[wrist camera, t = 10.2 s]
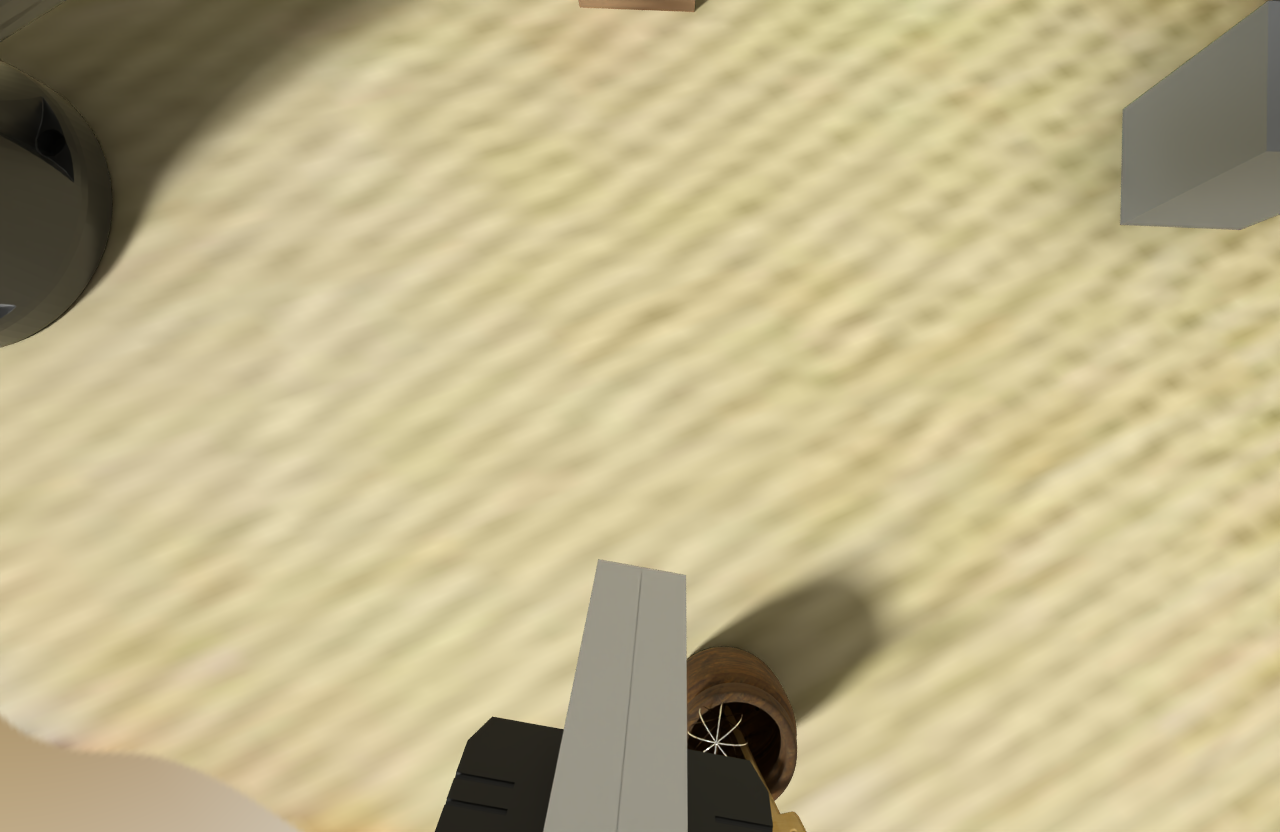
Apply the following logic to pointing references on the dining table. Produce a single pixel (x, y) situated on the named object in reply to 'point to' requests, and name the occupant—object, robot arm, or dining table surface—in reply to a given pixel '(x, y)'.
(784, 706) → the utensil holder
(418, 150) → the dining table surface
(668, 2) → the walnut block
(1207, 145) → the charcoal block
